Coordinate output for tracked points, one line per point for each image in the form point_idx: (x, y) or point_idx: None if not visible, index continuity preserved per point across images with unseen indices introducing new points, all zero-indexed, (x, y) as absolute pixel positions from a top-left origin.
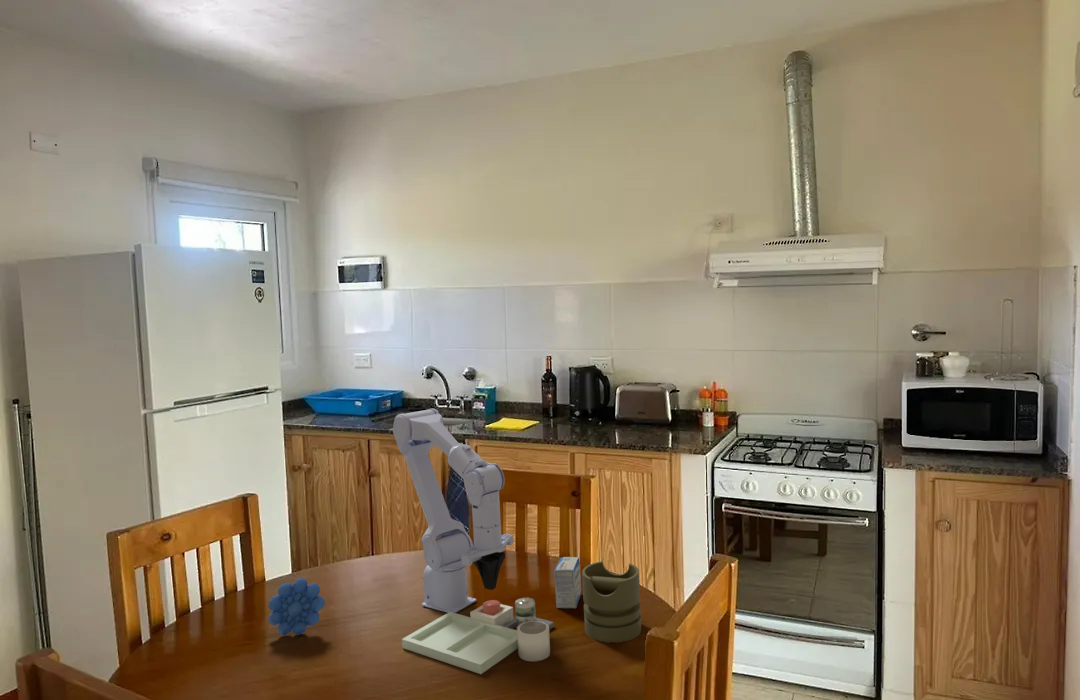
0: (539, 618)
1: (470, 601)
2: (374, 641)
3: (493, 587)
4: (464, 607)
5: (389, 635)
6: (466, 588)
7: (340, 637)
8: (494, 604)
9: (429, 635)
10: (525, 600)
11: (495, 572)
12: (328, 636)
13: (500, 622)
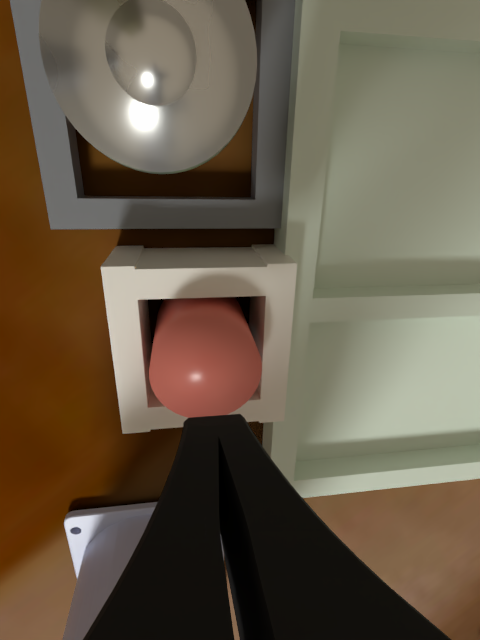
0: (24, 69)
1: (100, 519)
2: (474, 531)
3: (227, 422)
4: (152, 502)
5: (430, 529)
6: (102, 588)
7: (474, 597)
8: (206, 350)
9: (419, 439)
10: (160, 32)
11: (221, 548)
12: (476, 616)
13: (231, 255)
